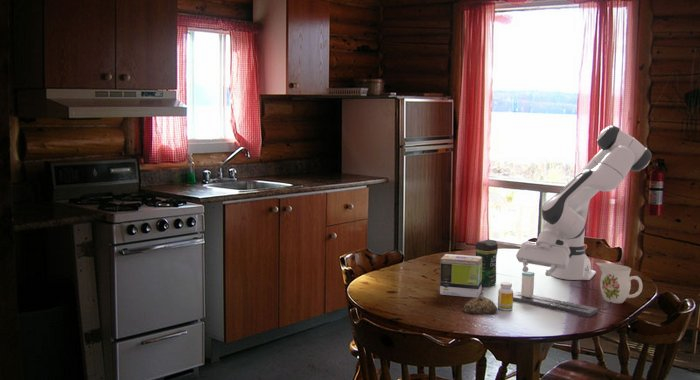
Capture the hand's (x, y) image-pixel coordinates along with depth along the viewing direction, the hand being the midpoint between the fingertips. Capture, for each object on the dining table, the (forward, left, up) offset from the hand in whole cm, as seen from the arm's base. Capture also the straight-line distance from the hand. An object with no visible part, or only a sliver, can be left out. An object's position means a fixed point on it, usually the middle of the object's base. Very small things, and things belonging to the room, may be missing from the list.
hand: (535, 273), depth 281 cm
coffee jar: (-5, -25, -10) cm, 27 cm away
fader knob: (+5, -1, -8) cm, 9 cm away
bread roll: (+27, -8, -11) cm, 30 cm away
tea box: (+14, -25, -10) cm, 30 cm away
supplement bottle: (+20, -2, -10) cm, 23 cm away
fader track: (+5, +9, -10) cm, 14 cm away
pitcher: (-18, +25, -10) cm, 33 cm away
